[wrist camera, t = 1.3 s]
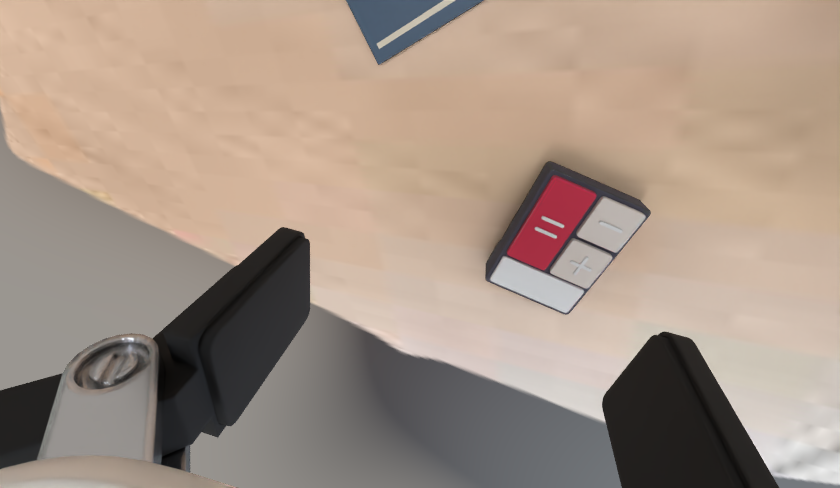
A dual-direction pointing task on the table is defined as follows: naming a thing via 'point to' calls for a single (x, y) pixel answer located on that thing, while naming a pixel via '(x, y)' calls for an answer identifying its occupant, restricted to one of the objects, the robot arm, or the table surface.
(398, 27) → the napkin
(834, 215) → the table surface
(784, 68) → the table surface
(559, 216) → the black buttoned block
